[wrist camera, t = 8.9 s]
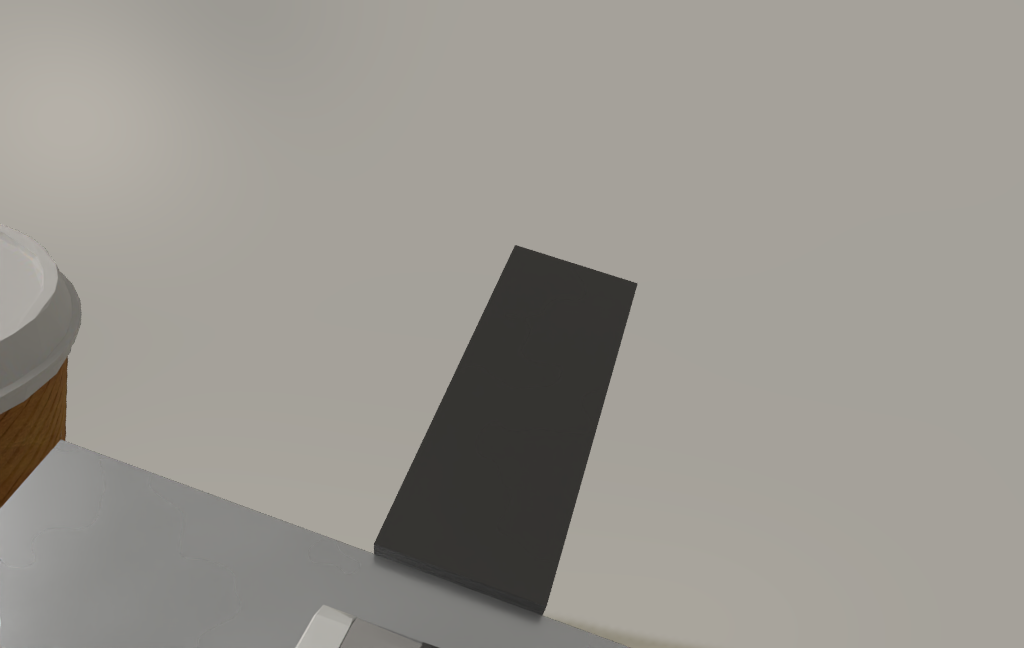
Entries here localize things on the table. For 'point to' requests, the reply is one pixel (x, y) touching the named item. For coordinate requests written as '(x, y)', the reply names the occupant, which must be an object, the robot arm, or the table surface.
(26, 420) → the disposable coffee cup
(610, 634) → the table surface
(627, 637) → the table surface
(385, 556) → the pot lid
